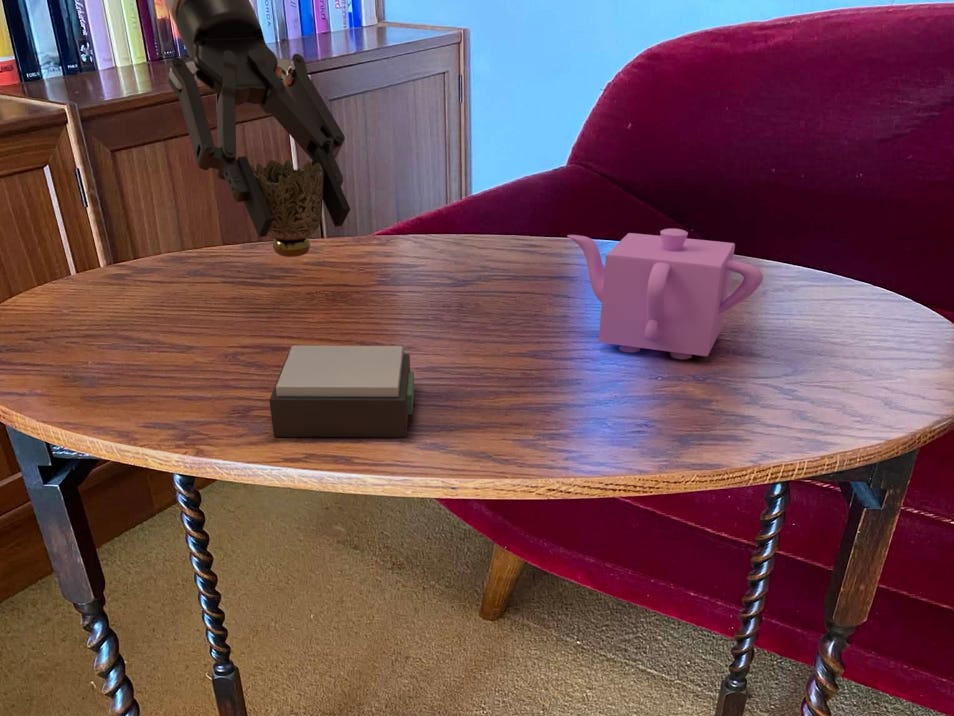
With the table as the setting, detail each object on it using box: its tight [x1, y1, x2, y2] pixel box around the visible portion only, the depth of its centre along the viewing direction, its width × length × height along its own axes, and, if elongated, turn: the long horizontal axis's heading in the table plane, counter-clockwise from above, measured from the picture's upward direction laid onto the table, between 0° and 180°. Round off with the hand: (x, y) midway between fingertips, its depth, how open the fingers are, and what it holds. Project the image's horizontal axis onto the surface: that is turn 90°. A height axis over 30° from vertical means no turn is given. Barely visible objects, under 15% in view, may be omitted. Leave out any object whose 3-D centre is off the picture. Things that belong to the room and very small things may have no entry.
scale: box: [268, 345, 415, 438], centre depth 76 cm, size 10×10×4 cm
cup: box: [250, 159, 324, 258], centre depth 94 cm, size 8×7×8 cm
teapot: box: [566, 228, 764, 360], centre depth 88 cm, size 18×14×10 cm
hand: (305, 222), depth 92 cm, fingers closed on cup, 7 cm apart
